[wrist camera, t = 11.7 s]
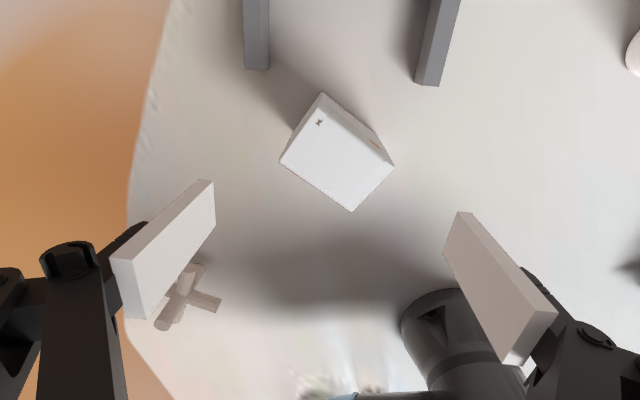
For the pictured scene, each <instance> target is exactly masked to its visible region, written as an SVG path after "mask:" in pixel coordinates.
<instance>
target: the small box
mask: <svg viewBox="0 0 640 400" xmlns="http://www.w3.org/2000/svg"><path fill="white" fill-rule="evenodd" d="M278 162H279V163H280V164H281V165H283V166H284V167H286V168H287V169H289V170H290V171H291V172H293V173H294V174H296V175H297V176H299V177H300V178H302V179H303V180H305V181H306V182H307V183H309V184H310V185H312V186H313V187H315V188H316V189H318V190H319V191H320V192H322V193H323V194H325V195H326V196H328V197H329V198H331V199H332V200H334V201H335V202H336V203H338V204H339V205H341V206H342V207H344V208H345V209H346V210H348V211H349V212H353V211H354V210H355V209H356V208H357V207H358V205H359V204H360V203H361V202H362V201H363V200H364V199H365V198H366V197H367V196H368V195H369V194H370V193H371V192H372V191H373V190H374V189H375V188H376V187H377V186H378V185H379V184H380V183H381V181H382V180H383V179H384V178H385V177H386V176H387V175H388V174H389V173H390V172H391V171H392V170H393V169H394V168H395V166H394V164H393V162H392V160H391V159H390V157H389V155H388V153H387V152H386V150H385V148H384V146H383V145H382V143H381V141H380V139H379V138H378V136H377V135H376V134H375V133H374V132H372V131H371V130H370V129H369V128H367V127H366V126H365V125H364V124H362V123H361V122H360V121H359V120H357V119H356V118H355V117H354V116H352V115H351V114H350V113H348V112H347V111H346V110H345V109H343V108H342V107H341V106H340V105H338V104H337V103H336V102H335V101H333V100H332V99H331V98H330V97H328V96H327V95H326V94H325V93H324V92H321V93H320V94H319V96H318V97H317V99H316V100H315V101H314V103H313V104H312V105H311V107H310V108H309V110H308V111H307V113H306V114H305V115H304V117H303V118H302V120H301V121H300V123H299V124H298V126H297V127H296V128H295V130H294V131H293V133H292V135H291V137H290V139H289V141H288V143H287V145H286V147H285V149H284V150H283V152H282V154H281V156H280V158H279V161H278Z"/></svg>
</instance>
